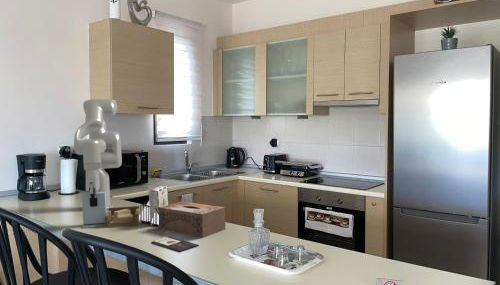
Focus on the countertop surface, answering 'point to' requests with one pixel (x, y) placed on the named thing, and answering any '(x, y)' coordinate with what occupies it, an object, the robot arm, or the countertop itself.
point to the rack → (108, 219)
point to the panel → (94, 208)
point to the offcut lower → (122, 219)
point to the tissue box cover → (192, 218)
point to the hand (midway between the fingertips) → (94, 205)
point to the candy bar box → (157, 199)
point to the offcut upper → (122, 213)
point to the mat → (93, 225)
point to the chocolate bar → (175, 244)
